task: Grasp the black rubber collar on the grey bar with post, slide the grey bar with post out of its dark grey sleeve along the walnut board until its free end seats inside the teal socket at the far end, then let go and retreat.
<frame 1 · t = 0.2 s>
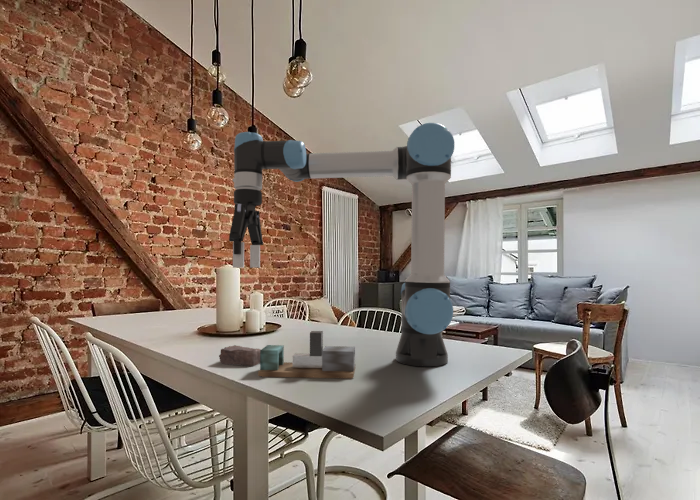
hand: (247, 267, 107), 27 cm above the table, fingers open, 13 cm apart
grey bar with post: (323, 349, 103), point 6 cm above the table, slide at 0.0 cm
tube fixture: (308, 372, 103), on the table
stone: (243, 363, 114), on the table
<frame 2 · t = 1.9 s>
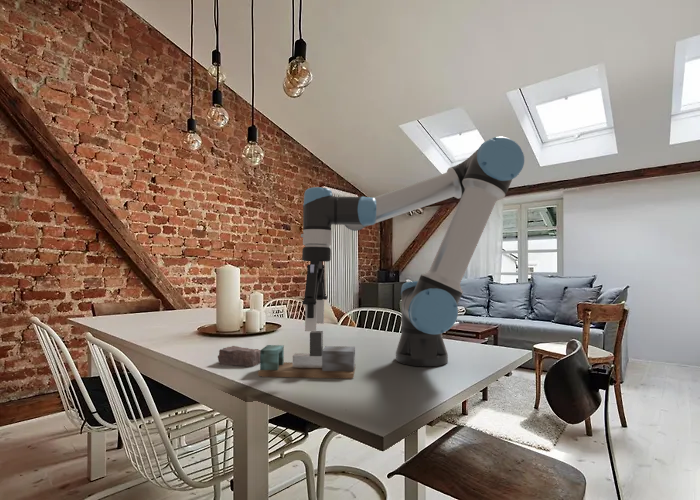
hand: (315, 327, 103), 12 cm above the table, fingers open, 13 cm apart
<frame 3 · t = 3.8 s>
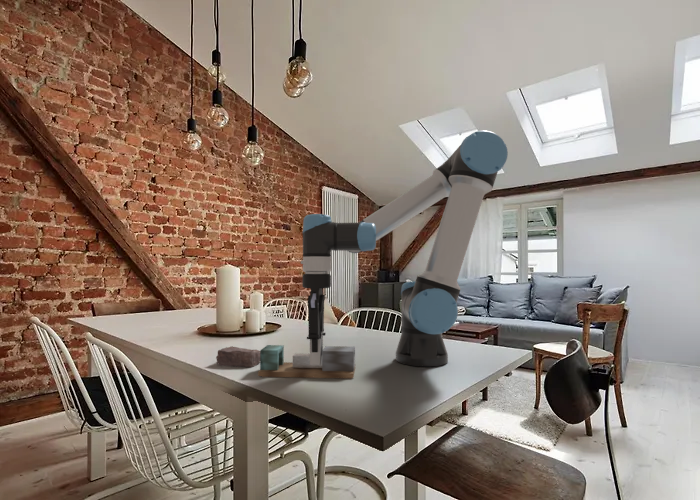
hand: (316, 362, 103), 3 cm above the table, fingers closed on grey bar with post, 3 cm apart
grey bar with post: (323, 349, 103), point 6 cm above the table, slide at 0.0 cm, touching gripper
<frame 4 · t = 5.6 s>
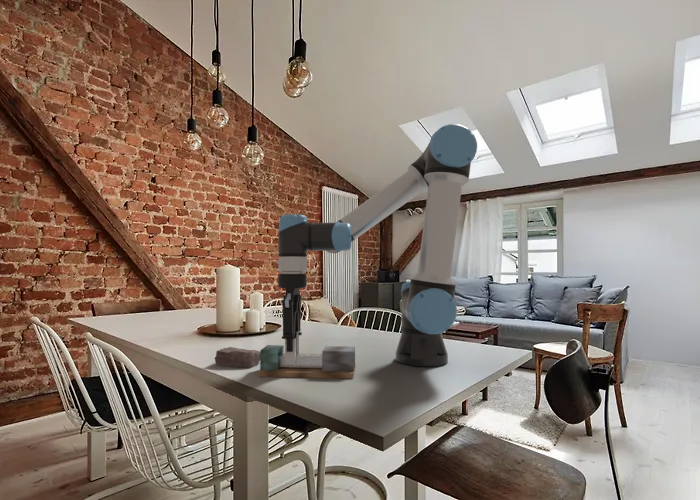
hand: (291, 361, 103), 3 cm above the table, fingers closed on grey bar with post, 3 cm apart
grey bar with post: (299, 348, 103), point 6 cm above the table, slide at 6.5 cm, touching gripper
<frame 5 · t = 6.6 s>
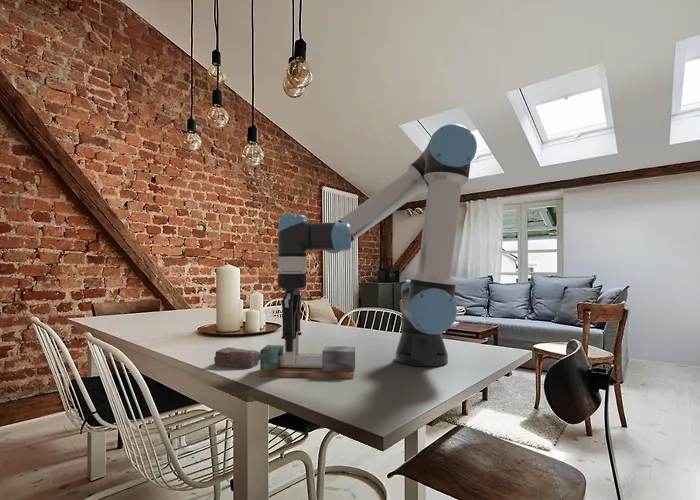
hand: (291, 361, 103), 3 cm above the table, fingers closed on grey bar with post, 3 cm apart
grey bar with post: (299, 348, 103), point 6 cm above the table, slide at 6.6 cm, touching gripper
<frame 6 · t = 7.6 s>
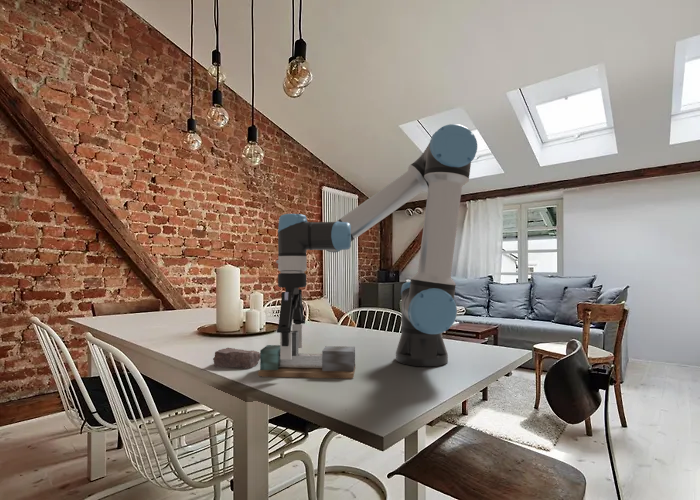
hand: (292, 353, 103), 5 cm above the table, fingers open, 13 cm apart
grey bar with post: (299, 348, 103), point 6 cm above the table, slide at 6.6 cm
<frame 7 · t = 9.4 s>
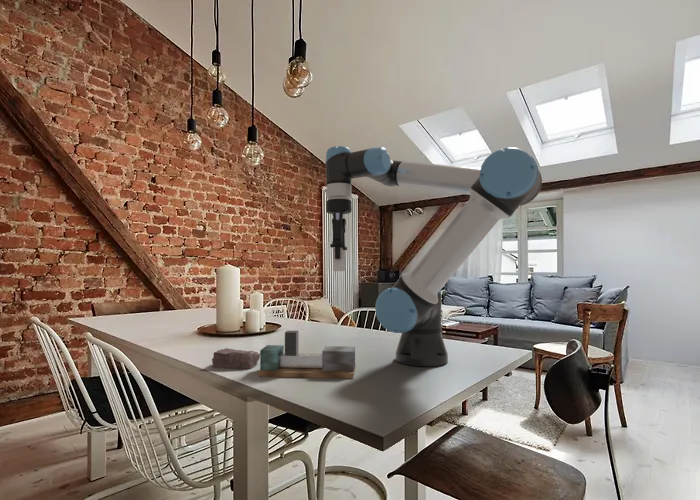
hand: (339, 271, 115), 26 cm above the table, fingers open, 13 cm apart
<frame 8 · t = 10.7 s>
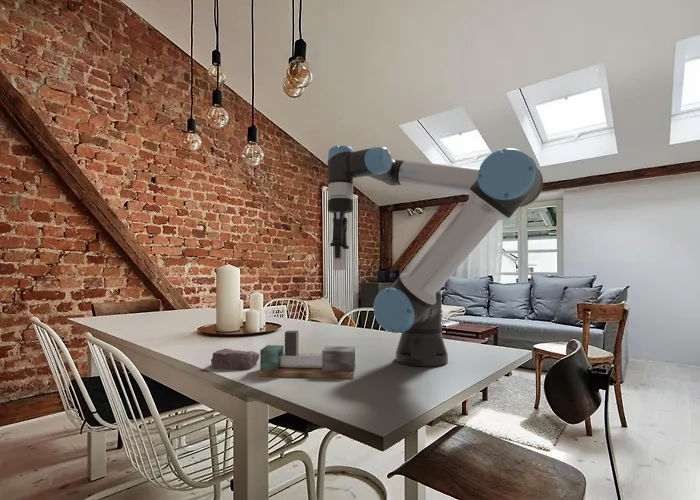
hand: (340, 270, 116), 27 cm above the table, fingers open, 13 cm apart
at the end: grey bar with post slide at 6.6 cm; the gripper is holding nothing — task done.
